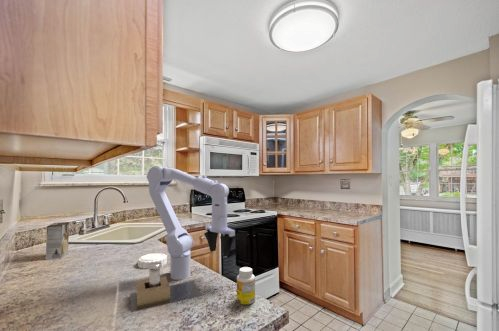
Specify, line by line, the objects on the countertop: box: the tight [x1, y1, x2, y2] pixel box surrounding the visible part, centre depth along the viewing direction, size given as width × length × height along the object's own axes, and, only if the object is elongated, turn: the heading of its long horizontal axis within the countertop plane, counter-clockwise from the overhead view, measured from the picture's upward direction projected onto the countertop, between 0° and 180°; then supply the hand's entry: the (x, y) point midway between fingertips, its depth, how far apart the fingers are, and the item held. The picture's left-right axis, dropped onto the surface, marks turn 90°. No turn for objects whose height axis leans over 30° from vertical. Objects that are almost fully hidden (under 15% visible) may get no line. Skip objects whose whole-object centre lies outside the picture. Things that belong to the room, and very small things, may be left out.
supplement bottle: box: [236, 266, 256, 306], centre depth 71 cm, size 6×6×10 cm
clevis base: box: [130, 275, 203, 313], centre depth 75 cm, size 12×20×5 cm, turn 117°
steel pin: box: [147, 262, 163, 288], centre depth 73 cm, size 4×4×10 cm
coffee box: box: [45, 221, 70, 261], centre depth 117 cm, size 9×6×16 cm
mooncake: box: [137, 252, 168, 270], centre depth 105 cm, size 12×12×4 cm
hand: (219, 253), depth 87 cm, fingers open, 7 cm apart
